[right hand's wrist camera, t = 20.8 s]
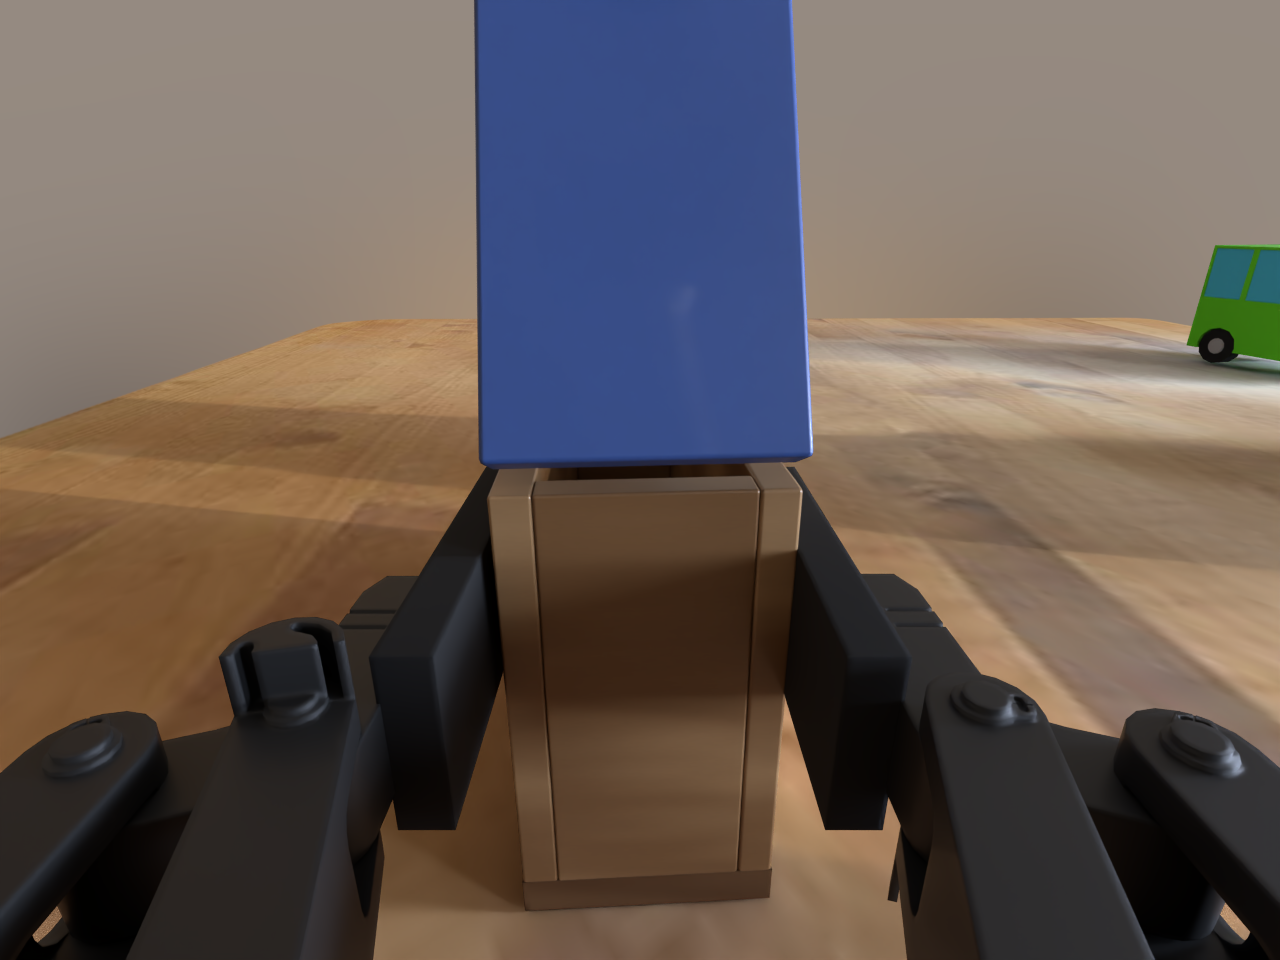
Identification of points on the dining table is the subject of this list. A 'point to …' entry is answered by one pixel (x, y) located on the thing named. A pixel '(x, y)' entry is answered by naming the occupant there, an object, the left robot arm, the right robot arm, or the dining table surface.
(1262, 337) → the toy car
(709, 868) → the chest
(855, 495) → the dining table surface
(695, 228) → the lid
